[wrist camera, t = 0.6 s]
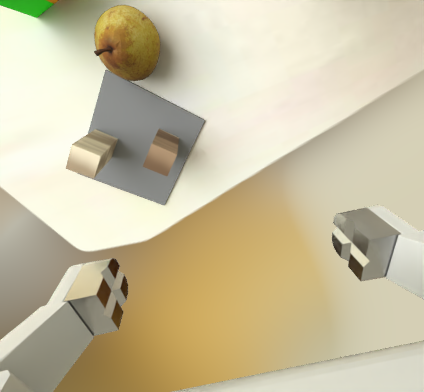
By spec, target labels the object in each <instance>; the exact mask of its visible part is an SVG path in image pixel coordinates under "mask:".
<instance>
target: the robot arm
mask: <svg viewBox="0 0 424 392" xmlns="http://www.w3.org/2000/svg"><path fill="white" fill-rule="evenodd" d="M333 223H334V224H335V225H336V226H337V228H336V229H335V230H334V231H333V233H332V242H333V246H334V248H335V250H336V252H337V253H338V255H339V256H340V257H341V258H343V259H345V260H347V261H349V264H348V267H349V268H350V269H351V270H352V272H353V273H354V274H355V275H356V276H357V278H358V279H359V280H360V281H365V280H371V279H377V278H383V277H386V279H388V280H390V281H392V282H393V283H395V284H397V285H399V286H401V287H402V288H404V289H406V290H408V291H410V292H411V293H413V294H415V295H417V296H419V297H420V298H422V299H424V230H421V231H418V230H417V229H416V228H414V227H413V226H411V225H410V224H408V223H407V222H405V221H404V220H402V219H401V218H399V217H398V216H397V215H395V214H393V213H392V212H391V211H389V210H388V209H386V208H385V207H383V206H381V205H374V206H369V207H365V208H362V209H357V210H352V211H348V212H343V213H338V214H336V215H335V217H334V222H333ZM119 267H120V265H119V264H118V262H117V260H116V259H114V258H111V259H106V260H100V261H95V262H89V263H85V264H79V265H74V266H71V267H70V268H69V269H68V270H67V272H66V273H65V275H64V277H63V278H62V280H61V282H60V284H59V285H58V287H57V288H56V290H55V292H54V293H53V295H52V297H51V298H50V300H49V302H48V304H47V305H46V306H42V307H40V308H39V309H38V310H37V311H36V312H34V313H33V314H32V315H31V316H29V317H28V318H27V319H26V320H25V321H23V322H22V323H21V324H20V325H18V326H17V327H16V328H15V329H14V330H12V331H11V332H10V333H9V334H7V335H6V336H5V337H4V338H3V339H1V340H0V392H53V391H54V389H55V388H56V387H57V385H58V384H59V383H60V381H61V380H62V379H63V377H64V376H65V375H66V373H67V372H68V371H69V369H70V368H71V367H72V366H73V364H74V363H75V361H76V360H77V359H78V358H79V356H80V355H81V354H82V352H83V351H84V350H85V348H86V347H87V346H88V344H89V343H90V342H91V340H92V339H93V338H94V336H95V335H99V334H104V333H107V332H112V331H117V330H119V326H120V323H121V319H122V315H123V310H122V308H121V306H122V305H123V303H124V302H125V301H126V300H127V295H128V283H127V279H126V277H125V275H124V274H123V273H121V272H119V271H118V270H119ZM173 392H424V341H420V342H415V343H410V344H405V345H400V346H395V347H390V348H385V349H380V350H375V351H370V352H365V353H361V354H355V355H350V356H345V357H340V358H336V359H331V360H326V361H321V362H316V363H311V364H306V365H301V366H296V367H291V368H287V369H281V370H276V371H272V372H266V373H262V374H257V375H252V376H247V377H242V378H237V379H232V380H227V381H222V382H217V383H212V384H208V385H203V386H198V387H193V388H188V389H183V390H178V391H173Z"/></svg>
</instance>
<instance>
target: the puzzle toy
mask: <svg viewBox="0 0 424 392" xmlns="http://www.w3.org/2000/svg"><path fill="white" fill-rule="evenodd" d="M57 1H59V0H0V5H1V6H4V7H7V8H10V9H13V10H16V11H19V12H22V13H24V14H27V15H30V16H33V17H36V18H37V17H38V16H40V15H41V14H42V13H43V12H45V11H46V10H47V9H49V8H50V7H51V6H52V5H54V4H55V3H56V2H57Z"/></svg>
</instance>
